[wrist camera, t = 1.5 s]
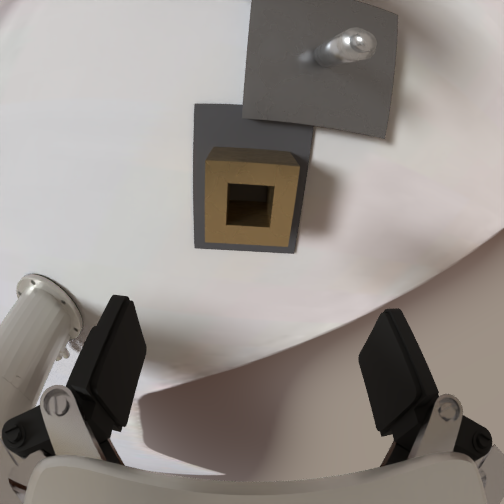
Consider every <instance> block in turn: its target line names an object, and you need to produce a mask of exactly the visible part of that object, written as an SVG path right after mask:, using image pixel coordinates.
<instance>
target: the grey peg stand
mask: <svg viewBox="0 0 504 504" xmlns="http://www.w3.org/2000/svg"><path fill="white" fill-rule="evenodd" d="M397 25H398V15H396V14H394V13H391V12H388V11H386V10H383V9H380V8H377V7H374V6H371V5H368V4H365V3H362V2H359V1H355V0H252V2H251V13H250V24H249V35H248V46H247V58H246V70H245V83H244V96H243V109H242V118H245V119H260V120H271V121H282V122H291V123H299V124H307V125H314V126H321V127H327V128H333V129H339V130H344V131H350V132H355V133H360V134H365V135H369V136H374V137H378V138H383V139H385V135H386V129H387V123H388V117H389V110H390V103H391V96H392V88H393V79H394V70H395V59H396V45H397Z"/></svg>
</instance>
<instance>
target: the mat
mask: <svg viewBox="0 0 504 504" xmlns="http://www.w3.org/2000/svg"><path fill="white" fill-rule="evenodd" d="M242 109H243V105H234V104H195V108H194V142H193V208H194V244H195V248H201V249H219V250H237V251H255V252H273V253H291V254H294V250H295V244H296V238H297V233H298V227H299V221H300V215H301V209H302V202H303V196H304V190H305V183H306V177H307V170H308V163H309V156H310V149H311V141H312V134H313V126H314V125H307V124H299V123H291V122H282V121H271V120H260V119H245V118H242ZM213 147H235V148H252V149H265V150H277V151H287V152H290V153H291V154H292V156H293V157H294V159H295V160H296V162H297V163H298V165H299V166H300V170H299V177H298V185H297V192H296V198H295V205H294V212H293V218H292V225H291V231H290V237H289V244H288V247H281V246H263V245H246V244H228V243H209V242H205V160H206V158H207V157H208V155H209V153H210V152H211V150H212V149H213ZM267 189H268V186H265V185H250V184H233V183H231V185H230V200H239V201H255V202H266V199H267Z"/></svg>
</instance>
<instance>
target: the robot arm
mask: <svg viewBox="0 0 504 504" xmlns="http://www.w3.org/2000/svg"><path fill="white" fill-rule="evenodd" d="M16 291H17V297H18V300H17V301H16V303H15V304H14V305H13V307H12V308H11V310H10V311H9V312H8V314H7V315H6V317H5V318H4V320H3V321H2V323H1V324H0V504H500V502H501V500H502V499H503V497H504V454H503V453H502V452H501V451H500V450H499V449H498V448H497V447H496V445H495V444H494V445H493V446H492V437H491V434H490V432H489V431H488V430H487V429H486V428H485V427H483V426H481V425H479V424H477V423H476V422H474V421H472V420H471V419H469V418H467V417H465V416H463V408H462V405H461V403H460V401H459V400H458V399H457V398H456V397H454V396H453V395H450V394H443V395H441V396H440V397H439V395H438V393H439V392H438V389H437V387H436V384H435V382H434V379H433V377H432V375H431V372H430V370H429V368H428V365H427V363H426V361H425V358H424V357H423V354H422V352H421V350H420V348H419V345H418V343H417V341H416V339H415V337H414V335H413V333H412V331H411V329H410V327H409V325H408V323H407V321H406V319H405V317H404V315H403V313H402V311H401V310H400V309H386V310H385V311H384V312H383V313H381V314H380V316H379V318H378V320H377V322H376V324H375V326H374V328H373V330H372V332H371V334H370V335H369V337H368V339H367V341H366V343H365V345H364V347H363V349H362V350H361V352H360V354H359V365H360V368H361V372H362V375H363V378H364V382H365V386H366V389H367V393H368V397H369V401H370V404H371V408H372V412H373V416H374V420H375V424H376V428H377V430H378V431H380V433H381V436H387V435H391V434H393V438H394V441H393V443H392V445H391V447H390V449H389V451H388V453H387V455H386V456H385V458H384V460H383V462H382V464H381V466H380V467H378V468H374V469H369V470H365V471H360V472H355V473H349V474H344V475H338V476H331V477H324V478H316V479H307V480H294V481H276V482H236V481H217V480H206V479H196V478H188V477H180V476H174V475H168V474H162V473H157V472H151V471H146V470H141V469H137V468H132V467H128V466H125V465H124V463H123V461H122V460H121V458H120V456H119V455H118V453H117V451H116V449H115V447H114V446H113V444H112V442H111V440H110V436H111V432H112V430H115V431H119V432H121V430H122V426H123V427H125V426H126V425H127V422H128V418H129V414H130V410H131V406H132V402H133V398H134V394H135V391H136V387H137V383H138V380H139V376H140V372H141V369H142V366H143V362H144V359H145V355H146V344H145V341H144V337H143V334H142V331H141V327H140V324H139V321H138V317H137V313H136V310H135V306H134V303H133V301H130V300H129V297H128V296H120V295H113V296H112V297H111V299H110V300H109V302H108V304H107V306H106V308H105V310H104V312H103V314H102V316H101V318H100V320H99V322H98V324H97V326H94V327H93V328H92V329H91V331H90V333H89V335H88V337H87V339H86V341H85V343H84V346H83V348H82V350H81V352H80V354H79V356H78V359H77V361H76V363H75V366H74V368H73V370H72V373H71V375H70V377H69V380H68V382H67V385H66V387H65V386H63V385H54V386H51V387H49V388H47V389H46V390H45V391H44V392H43V394H42V396H41V399H40V405H39V406H37V407H35V406H36V404H37V401H38V399H39V396H40V394H41V392H42V389H43V387H44V384H45V382H46V380H47V378H48V375H49V373H50V371H51V369H52V366H53V364H54V362H55V360H56V361H59V360H61V359H62V357H64V358H69V356H70V353H69V351H68V350H67V348H66V345H67V343H68V341H69V340H72V339H75V338H76V337H78V336H79V334H80V332H81V330H82V327H83V322H82V317H81V315H80V312H79V310H78V308H77V307H76V305H75V304H74V302H73V301H72V300H71V298H70V297H69V296H68V295H67V294H66V293H65V292H64V291H63V290H62V289H61V288H60V287H59V286H57V285H56V284H55V283H53V282H52V281H50V280H48V279H47V278H44V277H42V276H39V275H35V274H28V275H25V276H24V277H22V278H21V280H20V281H19V282H18V284H17V290H16Z"/></svg>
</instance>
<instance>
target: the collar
mask: <svg viewBox="0 0 504 504" xmlns="http://www.w3.org/2000/svg"><path fill="white" fill-rule="evenodd" d="M299 170H300V166H299V165H298V163H297V162H296V160H295V159H294V157H293V156H292V154H291V153H290V152H287V151H277V150H265V149H252V148H235V147H213V149H212V150H211V152H210V153H209V155H208V157H207V158H206V160H205V242H209V243H228V244H246V245H263V246H281V247H288V244H289V237H290V231H291V225H292V218H293V212H294V205H295V198H296V192H297V185H298V177H299ZM231 183H233V184H250V185H265V186H268V189H267V199H266V202H255V201H239V200H230V185H231Z"/></svg>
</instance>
